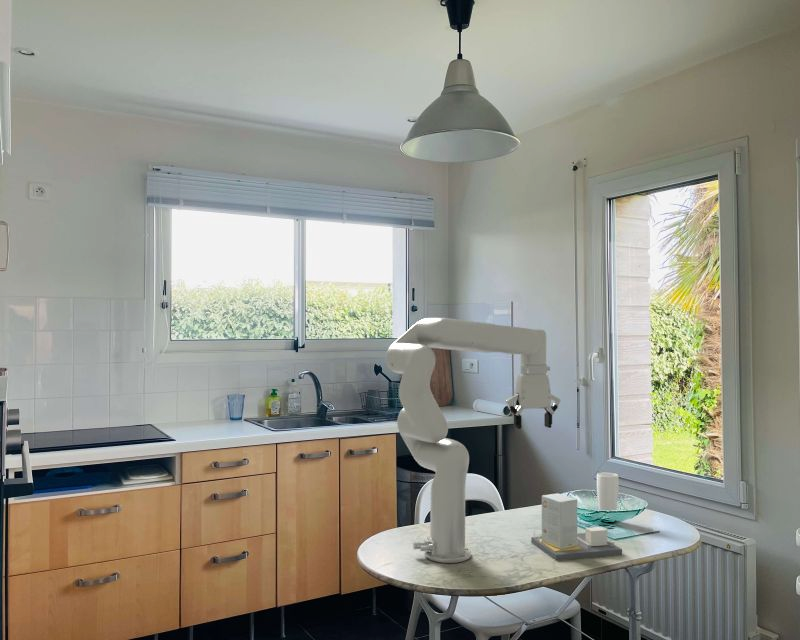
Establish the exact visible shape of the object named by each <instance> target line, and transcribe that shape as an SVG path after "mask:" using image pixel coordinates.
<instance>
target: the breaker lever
mask: <svg viewBox="0 0 800 640" xmlns="http://www.w3.org/2000/svg"><path fill="white" fill-rule="evenodd" d="M585 533H586V542H587V543H589V544H590V545H591V546H602V545H607V539H608V529H607V528H605V527H603V526H593V527H585Z"/></svg>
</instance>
